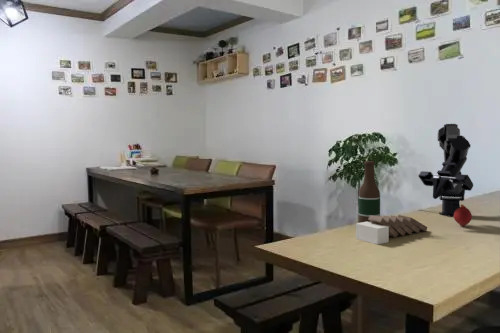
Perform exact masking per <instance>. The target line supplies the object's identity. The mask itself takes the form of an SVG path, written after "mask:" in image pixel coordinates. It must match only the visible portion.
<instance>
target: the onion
mask: <svg viewBox="0 0 500 333" xmlns="http://www.w3.org/2000/svg"><path fill="white" fill-rule="evenodd" d="M472 218H473V216H472V212H471V210H470V209H469V208H467V207H466V206H465V205H464V204H461V203H460V207H459V208H458V209H457V210H456V211H455V212H454V216H453V219H454V221H455V222H456V223H457V224H458V225H459V226H460V227H465V226H467V225H469V223H470V222H471V221H472Z"/></svg>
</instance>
